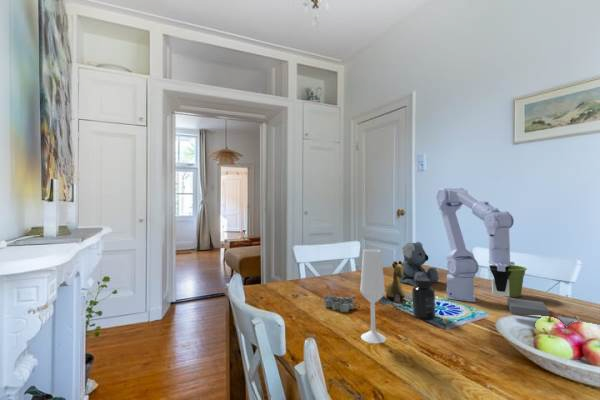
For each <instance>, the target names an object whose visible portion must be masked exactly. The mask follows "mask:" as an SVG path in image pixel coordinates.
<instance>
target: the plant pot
mask: <svg viewBox="0 0 600 400" xmlns="http://www.w3.org/2000/svg"><path fill="white" fill-rule="evenodd" d="M527 270H528V268H527V267H525V266H521V265H509V270H508V271H511V274H510V276H509V278H508V280H509V295H510V297H511V298H517V297H519V298H520V297H522V290H523V285H524V284H523V283H524V279H525V278H524V276H525V273H526V271H527ZM510 297H509V296H507V298H510Z"/></svg>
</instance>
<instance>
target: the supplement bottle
mask: <svg viewBox="0 0 600 400" xmlns="http://www.w3.org/2000/svg"><path fill="white" fill-rule="evenodd" d="M415 285H416V286H413V287H412V289H411V293H412V294H411V295H412V297H413V300H412V301H413V303H412V305H413V306H412V313H413V315H414V317H415V318H417V319H422V320H432V318H433V319H435V318H436V298H435V297H436V296H435V295H436V294H435V290H434V289H433V287H432V283H431V280H430V279H427V278H416V279H415Z"/></svg>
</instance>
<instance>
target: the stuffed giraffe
mask: <svg viewBox="0 0 600 400" xmlns="http://www.w3.org/2000/svg"><path fill="white" fill-rule="evenodd" d="M391 265H392V268H393V278H392V279H393V280H392V282H391V283H390V284H388V286H387V289H386V292H387V293H385V294H386V295H385V294H384V295H383V296H382V298H381V299H379V300H378V302H380V304H381V306H382V307H387V306H388V305H390V306H393V307H395V308H396V307H399V305H400V304H398V303H401V304H403V303H406V302H407V301H408V300H409V301H413V297H412V294H410V293H407V292H404V289H403V288H402V284H401V282H400V281H399V278H402V276H403V267H402V266H403V265H404V264H403V262H402V261H401V260H399V261H396V260H394V261H393V262H392V263H391ZM404 298H405V299H406V300H404ZM410 299H411V300H410ZM386 305H387V306H386ZM399 308H400V307H399Z"/></svg>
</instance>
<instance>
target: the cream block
mask: <svg viewBox="0 0 600 400" xmlns="http://www.w3.org/2000/svg"><path fill="white" fill-rule="evenodd" d="M491 292H492V295H494V296H502V297H508V296H509V297H508V298H510V295H509V280H507V285H506V290H505V292H502V291H497V289H496V285H495V280H494V276H491Z"/></svg>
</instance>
